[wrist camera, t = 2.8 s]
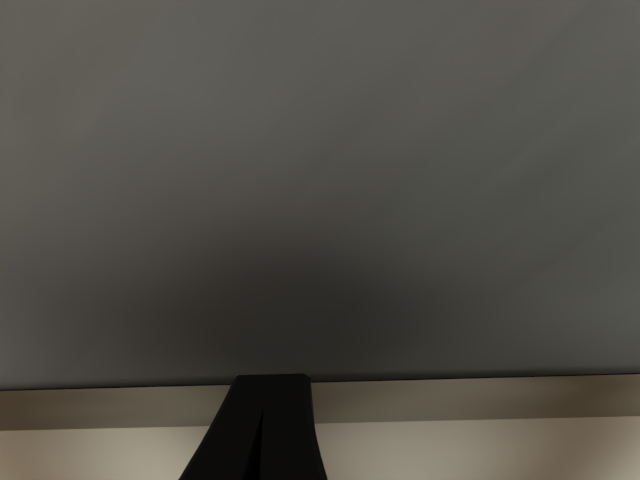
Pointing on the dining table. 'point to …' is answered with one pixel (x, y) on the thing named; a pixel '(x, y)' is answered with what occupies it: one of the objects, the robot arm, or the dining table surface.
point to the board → (343, 430)
